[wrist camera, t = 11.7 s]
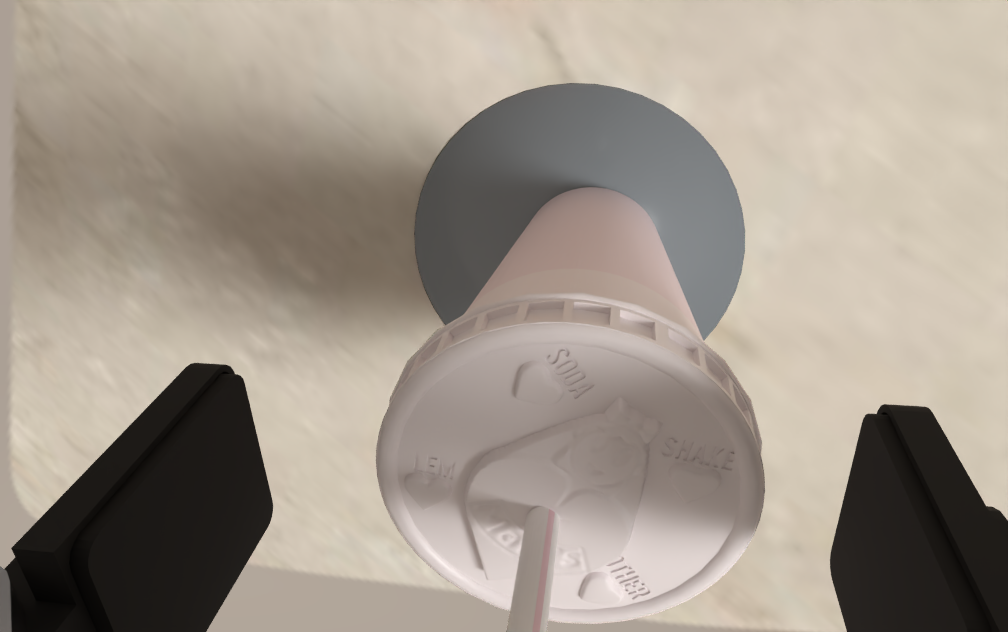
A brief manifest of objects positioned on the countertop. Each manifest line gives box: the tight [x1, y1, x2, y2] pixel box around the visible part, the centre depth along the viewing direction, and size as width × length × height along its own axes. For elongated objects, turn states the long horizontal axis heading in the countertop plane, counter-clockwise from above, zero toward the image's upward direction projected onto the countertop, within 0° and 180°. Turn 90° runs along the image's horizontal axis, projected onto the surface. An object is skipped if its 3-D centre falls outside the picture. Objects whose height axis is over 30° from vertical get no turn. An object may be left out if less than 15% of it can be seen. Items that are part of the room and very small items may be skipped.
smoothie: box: [376, 187, 765, 632], centre depth 14 cm, size 6×6×14 cm
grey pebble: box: [415, 83, 745, 341], centre depth 21 cm, size 9×9×1 cm
